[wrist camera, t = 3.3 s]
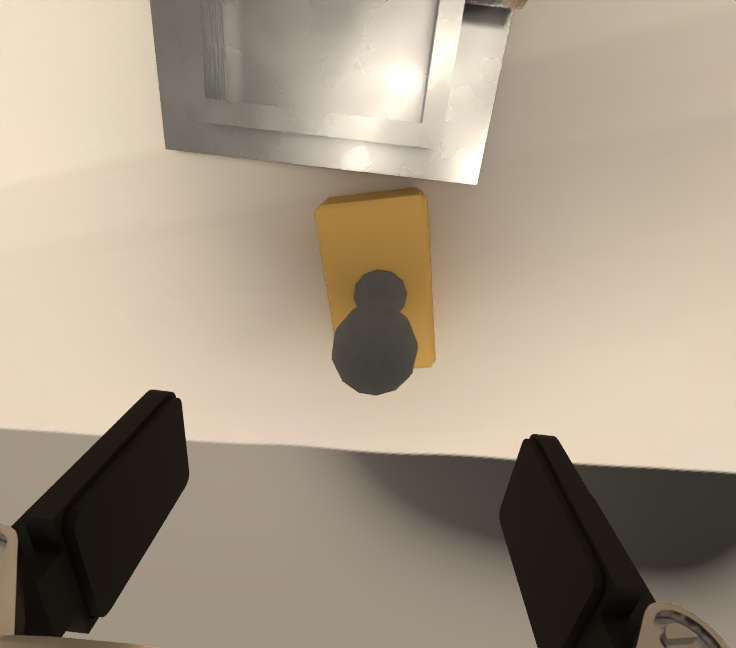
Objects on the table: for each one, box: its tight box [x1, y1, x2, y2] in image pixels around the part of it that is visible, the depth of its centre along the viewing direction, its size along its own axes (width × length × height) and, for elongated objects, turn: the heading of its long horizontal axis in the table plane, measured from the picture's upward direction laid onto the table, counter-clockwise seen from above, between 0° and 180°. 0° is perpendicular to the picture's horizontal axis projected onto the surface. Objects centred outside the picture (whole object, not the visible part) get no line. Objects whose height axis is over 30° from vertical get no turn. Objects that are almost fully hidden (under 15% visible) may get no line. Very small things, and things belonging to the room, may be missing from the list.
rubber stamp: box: [315, 188, 436, 395], centre depth 19 cm, size 10×6×12 cm, turn 7°
